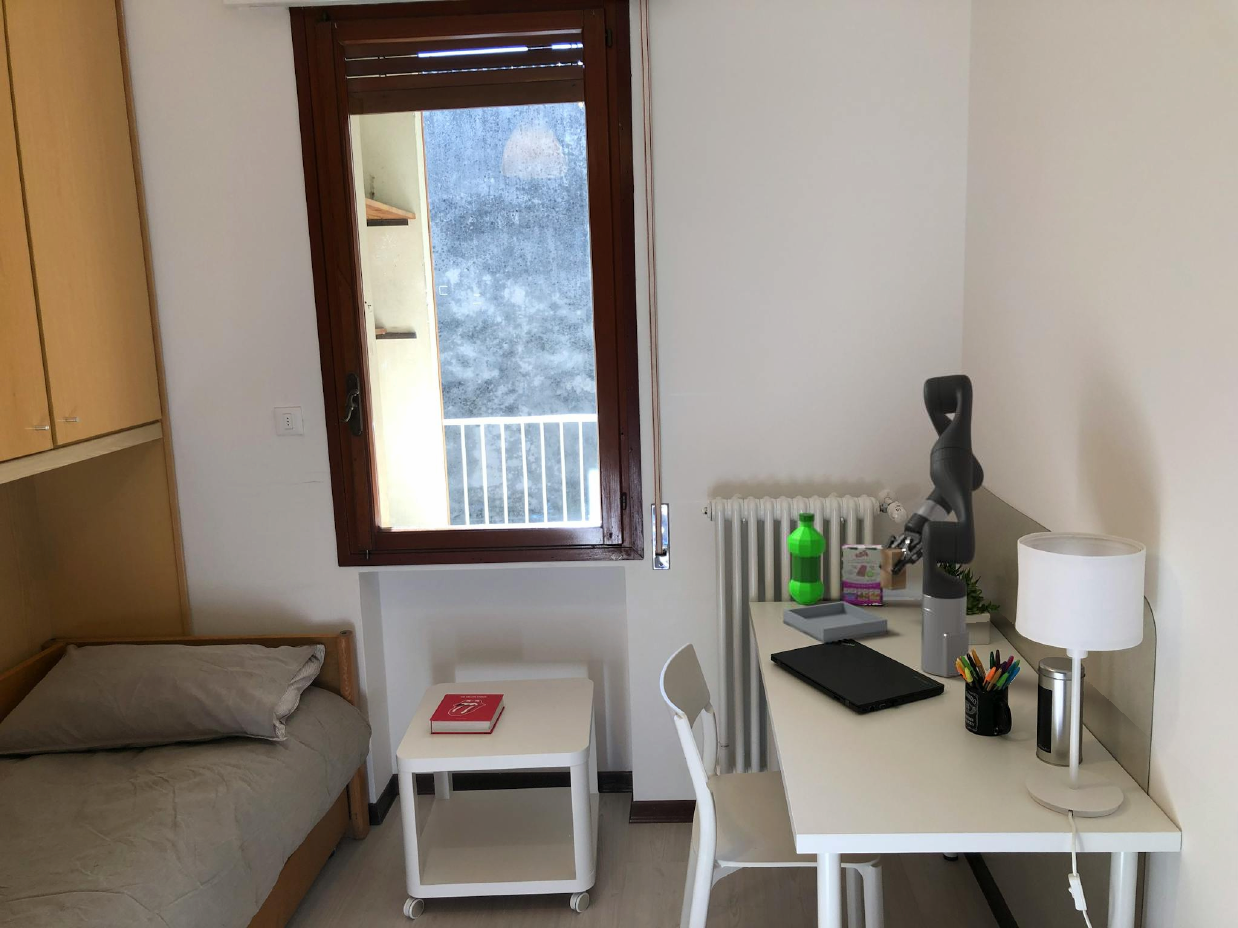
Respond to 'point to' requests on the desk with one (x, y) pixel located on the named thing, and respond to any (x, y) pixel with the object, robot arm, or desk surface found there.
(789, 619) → the box
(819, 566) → the plastic bottle
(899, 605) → the desk surface
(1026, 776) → the desk surface
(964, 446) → the robot arm
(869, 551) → the candy bar box
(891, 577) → the walnut block
